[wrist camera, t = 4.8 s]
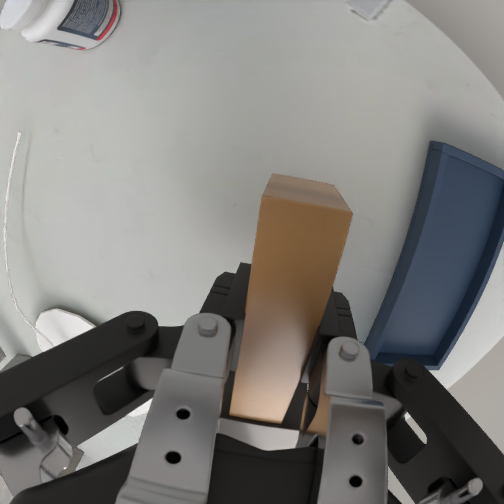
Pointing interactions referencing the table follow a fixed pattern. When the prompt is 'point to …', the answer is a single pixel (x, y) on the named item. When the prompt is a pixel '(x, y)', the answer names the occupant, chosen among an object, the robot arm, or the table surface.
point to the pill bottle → (62, 21)
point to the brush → (284, 309)
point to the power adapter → (1, 355)
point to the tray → (442, 259)
